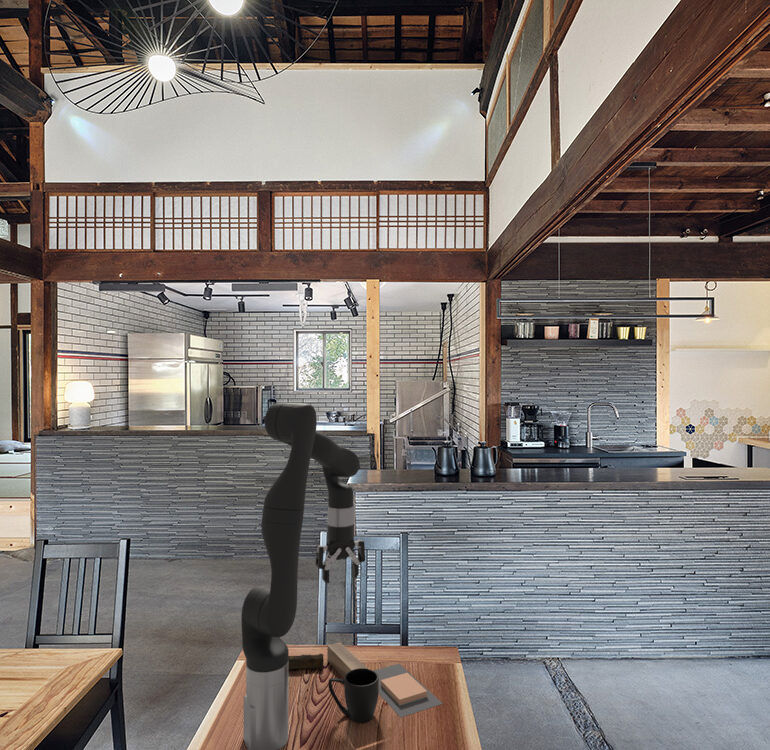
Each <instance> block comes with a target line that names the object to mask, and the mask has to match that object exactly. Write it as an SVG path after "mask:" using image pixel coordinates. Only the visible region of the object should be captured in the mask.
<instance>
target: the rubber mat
mask: <svg viewBox="0 0 770 750" xmlns="http://www.w3.org/2000/svg"><path fill="white" fill-rule="evenodd" d="M373 671H375V672H376V673H377V674H378V676H379V693H378V696H380V697H381V698H382V699H383V700H384V701H385V702H386V703H387V705H388V706H389V707H390V708H391V709H392V710H393V711H394V712H395V713H396V715H397V716H399V717H400V718H403V717H406V716H409V715H412V714H416V713H418V712H422V711H426V710H428V709H431V708H434V707H437V706H440V705H443V704H444V703H443V702H442V701H440V700H439V698H438V697H436V696H435V695H434V693H432V692H431V691H430V690H429V689H428V688H426V687H425V685H424V684H422V683H421V682H420V681H419V680H418V679H417V678H416V677H415V676H414V675H412V673H410V672H409V671H408V670H407V669H406V668H405V667H404V666H403V665H402V664H401V663H396V664H392V665H389V666H385V667H382V668H378V669H373ZM404 673H408V674H409V675H410V676H412V677H413V678H414V679H415V680H416V681H417V682H418V683H419V684H420V685H421V686H422V687H423V688H424V689H426V690H427V698H424V699H421V700H418V701H415V702H412V703H408V704H405V705H402V706H399V705H398V704H397V703H396V702H395V701H394V700H393V699H392V698H391V697H390V696H389V694H388V693H387V692H386V691H385V690H384V689H383V688H382V687H381V680H383V679H387V678H390V677H394V676H397V675H401V674H404Z"/></svg>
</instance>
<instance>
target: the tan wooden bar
mask: <svg viewBox="0 0 770 750" xmlns="http://www.w3.org/2000/svg"><path fill="white" fill-rule="evenodd" d="M326 655H327V660H326V661H327V662H328V663H329V664H330V665H331V666H332V667H333V669H335V671H336V672H337V673H338V674H339V675H340V677H342V679H344V677H345V675H346V674H347V673H348V672H349V671H351V670H354V669H359V668H365V669H369V668H368V667H367V666H366V665H365V664H364V663H363V662H362V661H361V660H360V659H358V658H357V657H356V656H355V654H353V653H352V652H351V651H350V650H349V649H348V648H347V647H346V645H344V644H343V643H342V642H336V643H331V644H329V645H327V654H326Z"/></svg>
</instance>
